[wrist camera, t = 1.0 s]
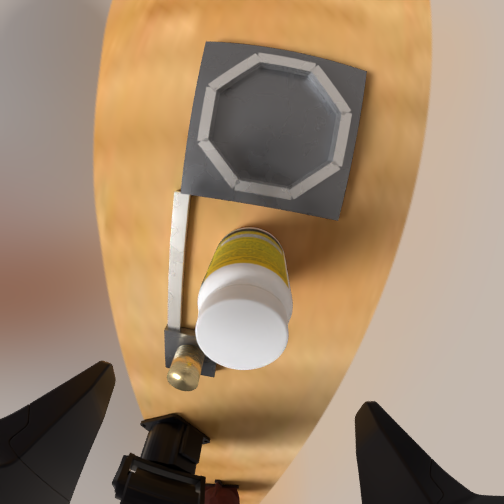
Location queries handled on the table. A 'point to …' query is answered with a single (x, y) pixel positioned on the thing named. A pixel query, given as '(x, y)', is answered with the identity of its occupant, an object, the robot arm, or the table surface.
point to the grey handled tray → (259, 155)
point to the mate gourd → (221, 493)
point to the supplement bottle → (245, 301)
